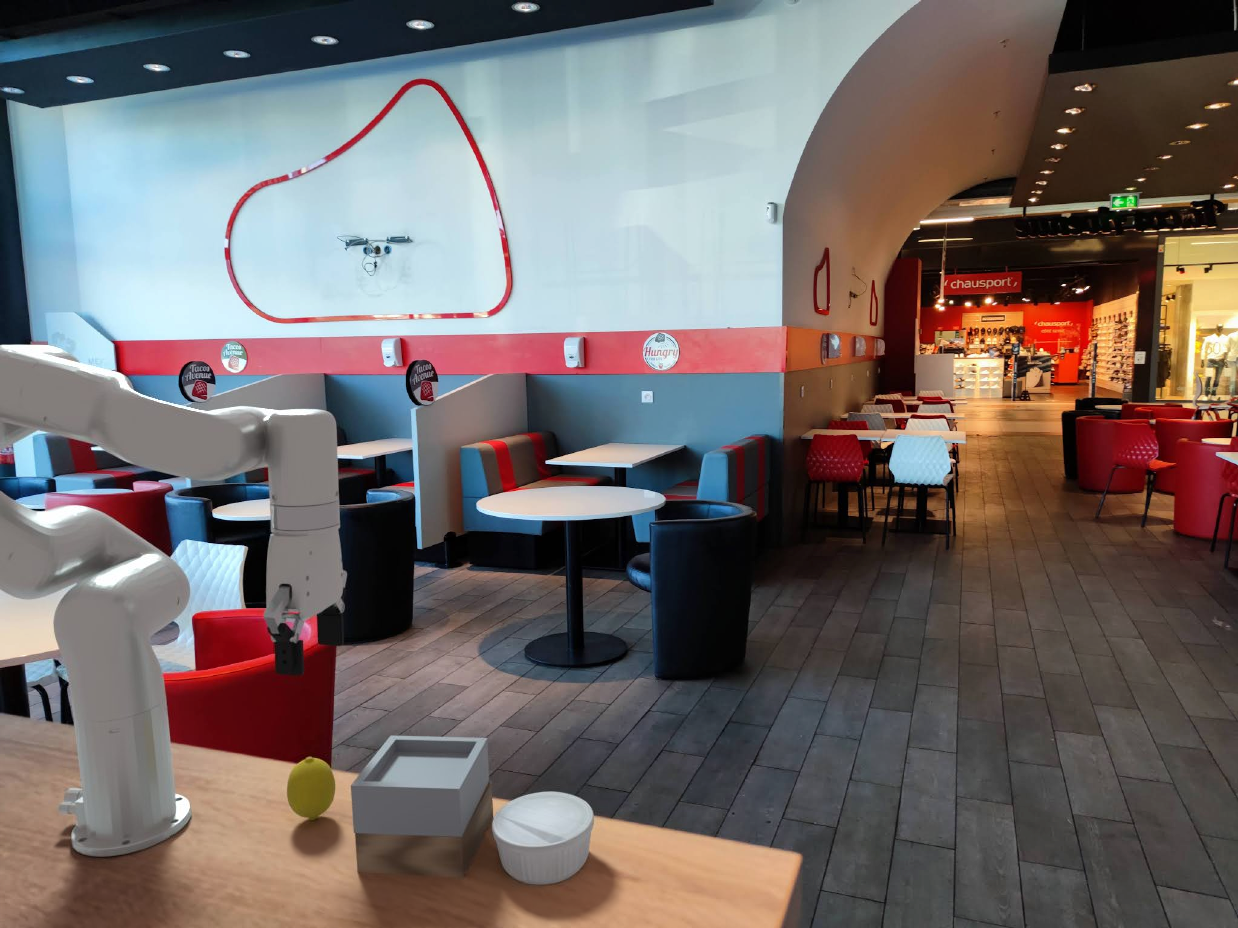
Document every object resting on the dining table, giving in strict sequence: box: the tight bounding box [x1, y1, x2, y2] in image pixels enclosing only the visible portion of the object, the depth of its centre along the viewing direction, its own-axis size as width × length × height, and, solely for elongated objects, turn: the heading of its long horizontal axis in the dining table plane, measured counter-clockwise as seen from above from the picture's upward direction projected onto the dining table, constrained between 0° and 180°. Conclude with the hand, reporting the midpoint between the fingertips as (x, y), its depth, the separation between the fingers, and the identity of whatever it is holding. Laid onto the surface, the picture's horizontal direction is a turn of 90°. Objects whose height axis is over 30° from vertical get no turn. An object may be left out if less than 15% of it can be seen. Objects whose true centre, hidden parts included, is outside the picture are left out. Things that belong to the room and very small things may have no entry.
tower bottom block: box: [354, 781, 494, 879], centre depth 99 cm, size 12×12×5 cm
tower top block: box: [350, 735, 490, 837], centre depth 98 cm, size 12×12×6 cm
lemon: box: [286, 756, 336, 821], centre depth 104 cm, size 6×6×8 cm
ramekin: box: [491, 790, 595, 886], centre depth 95 cm, size 11×11×5 cm
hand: (311, 658), depth 102 cm, fingers open, 9 cm apart
